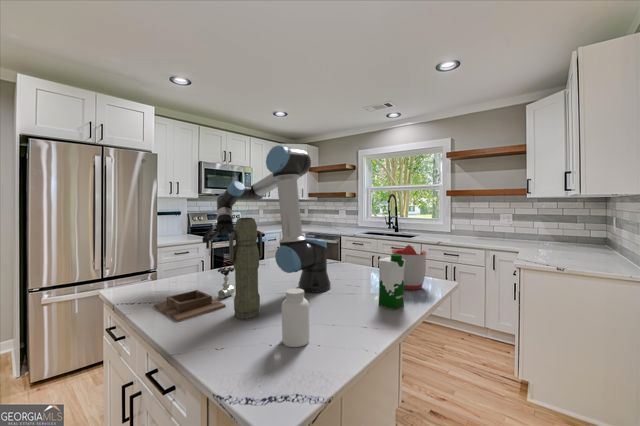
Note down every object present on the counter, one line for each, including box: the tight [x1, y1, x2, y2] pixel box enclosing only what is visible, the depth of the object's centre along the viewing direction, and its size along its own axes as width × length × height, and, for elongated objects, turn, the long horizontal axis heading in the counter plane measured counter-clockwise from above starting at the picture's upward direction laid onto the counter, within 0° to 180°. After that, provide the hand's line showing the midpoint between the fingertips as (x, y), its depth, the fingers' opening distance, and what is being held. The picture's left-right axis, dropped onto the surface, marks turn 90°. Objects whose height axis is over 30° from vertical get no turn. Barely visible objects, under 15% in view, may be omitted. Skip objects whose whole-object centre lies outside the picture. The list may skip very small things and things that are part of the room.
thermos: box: [228, 217, 263, 321], centre depth 104 cm, size 9×12×35 cm
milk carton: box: [377, 254, 406, 310], centre depth 114 cm, size 9×9×20 cm
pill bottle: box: [281, 287, 310, 348], centre depth 85 cm, size 8×8×15 cm
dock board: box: [153, 289, 226, 323], centre depth 113 cm, size 22×18×4 cm
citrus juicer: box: [391, 244, 427, 291], centre depth 138 cm, size 16×17×20 cm
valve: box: [217, 266, 235, 299], centre depth 125 cm, size 7×7×12 cm
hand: (225, 253), depth 135 cm, fingers open, 13 cm apart
